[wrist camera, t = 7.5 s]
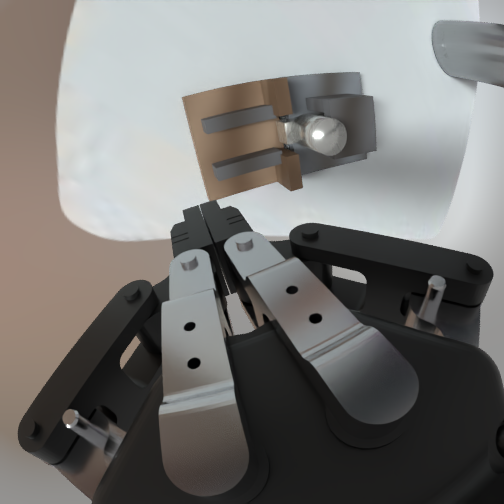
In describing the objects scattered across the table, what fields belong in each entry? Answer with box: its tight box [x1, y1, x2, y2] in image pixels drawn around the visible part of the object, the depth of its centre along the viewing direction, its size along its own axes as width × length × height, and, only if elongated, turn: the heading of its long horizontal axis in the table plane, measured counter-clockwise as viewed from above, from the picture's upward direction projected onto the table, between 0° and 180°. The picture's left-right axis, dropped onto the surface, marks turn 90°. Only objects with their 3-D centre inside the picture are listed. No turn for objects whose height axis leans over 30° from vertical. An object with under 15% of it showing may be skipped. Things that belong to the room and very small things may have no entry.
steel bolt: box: [276, 113, 347, 156], centre depth 23 cm, size 8×3×6 cm, turn 101°
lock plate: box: [182, 72, 376, 201], centre depth 24 cm, size 18×10×5 cm, turn 101°
